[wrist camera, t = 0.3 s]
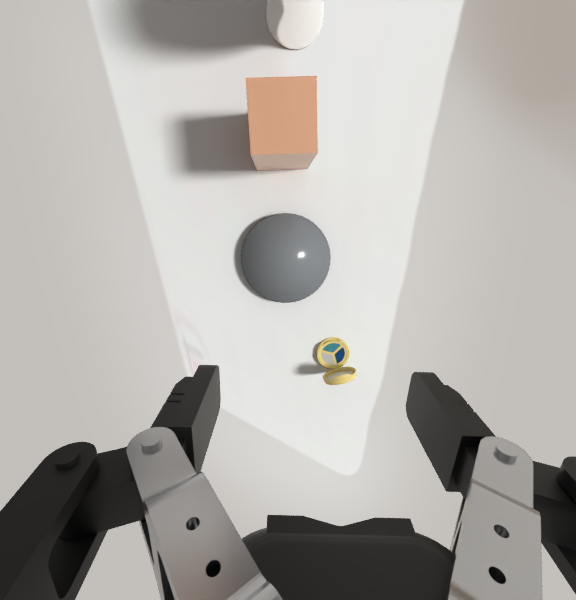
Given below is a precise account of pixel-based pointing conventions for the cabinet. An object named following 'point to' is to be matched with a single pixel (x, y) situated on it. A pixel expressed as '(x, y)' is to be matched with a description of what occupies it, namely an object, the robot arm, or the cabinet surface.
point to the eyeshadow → (335, 361)
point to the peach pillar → (282, 121)
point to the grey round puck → (285, 258)
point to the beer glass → (295, 21)
